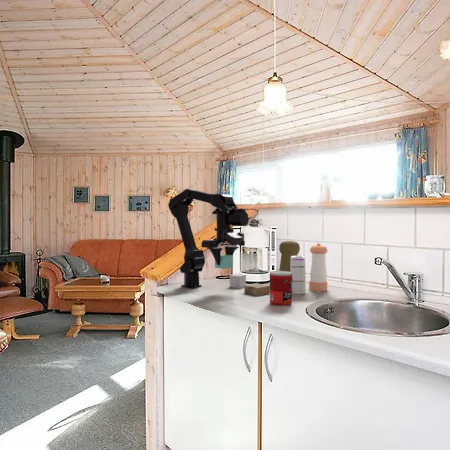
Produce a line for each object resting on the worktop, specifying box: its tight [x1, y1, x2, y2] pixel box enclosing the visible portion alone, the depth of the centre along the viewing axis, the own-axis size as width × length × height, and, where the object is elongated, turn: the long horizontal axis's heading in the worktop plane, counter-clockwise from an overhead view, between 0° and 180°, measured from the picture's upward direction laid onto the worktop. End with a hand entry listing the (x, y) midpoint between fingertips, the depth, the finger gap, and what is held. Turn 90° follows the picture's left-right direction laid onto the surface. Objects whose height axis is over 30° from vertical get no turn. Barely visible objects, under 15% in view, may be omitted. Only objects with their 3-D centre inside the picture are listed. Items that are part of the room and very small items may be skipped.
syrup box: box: [290, 255, 306, 295], centre depth 161 cm, size 6×6×14 cm
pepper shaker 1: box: [278, 240, 301, 272], centre depth 179 cm, size 10×10×19 cm
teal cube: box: [214, 253, 234, 270], centre depth 162 cm, size 5×5×5 cm
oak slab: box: [243, 282, 270, 297], centre depth 160 cm, size 7×7×3 cm
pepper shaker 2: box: [308, 242, 328, 292], centre depth 167 cm, size 7×7×19 cm
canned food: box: [269, 270, 293, 307], centre depth 142 cm, size 8×8×11 cm
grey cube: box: [229, 273, 247, 289], centre depth 174 cm, size 5×5×5 cm
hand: (223, 264), depth 162 cm, fingers closed on teal cube, 5 cm apart
